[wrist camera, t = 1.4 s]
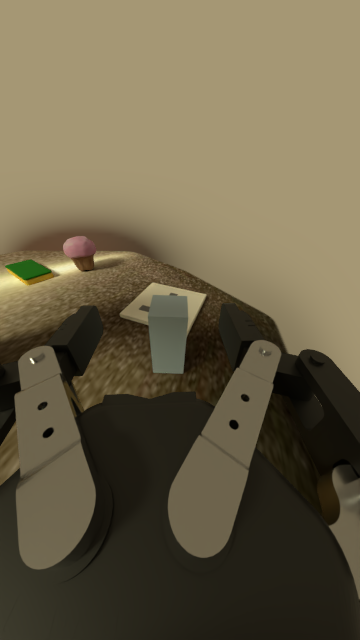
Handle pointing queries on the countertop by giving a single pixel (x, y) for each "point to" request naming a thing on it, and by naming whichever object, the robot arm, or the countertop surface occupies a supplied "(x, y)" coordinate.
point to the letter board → (142, 303)
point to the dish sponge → (29, 272)
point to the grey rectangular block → (168, 332)
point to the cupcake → (80, 252)
